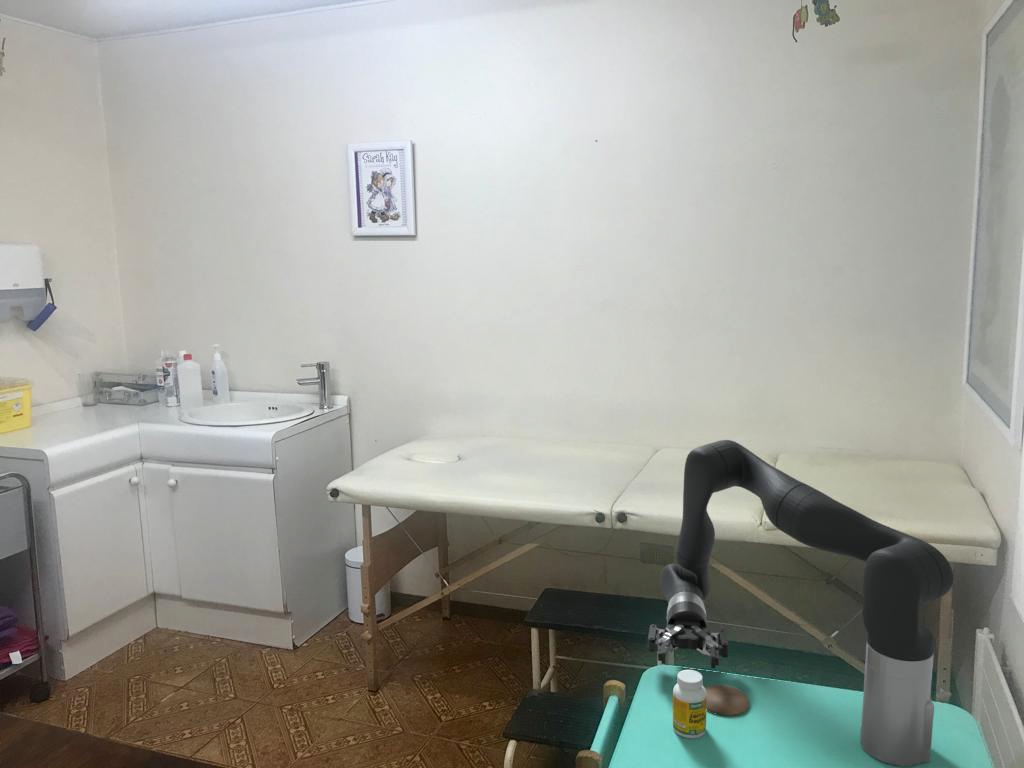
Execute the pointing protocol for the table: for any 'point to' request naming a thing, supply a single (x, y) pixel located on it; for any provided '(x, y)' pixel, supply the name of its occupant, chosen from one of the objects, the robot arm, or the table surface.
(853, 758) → the table surface
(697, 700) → the supplement bottle
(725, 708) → the walnut coaster
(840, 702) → the table surface
